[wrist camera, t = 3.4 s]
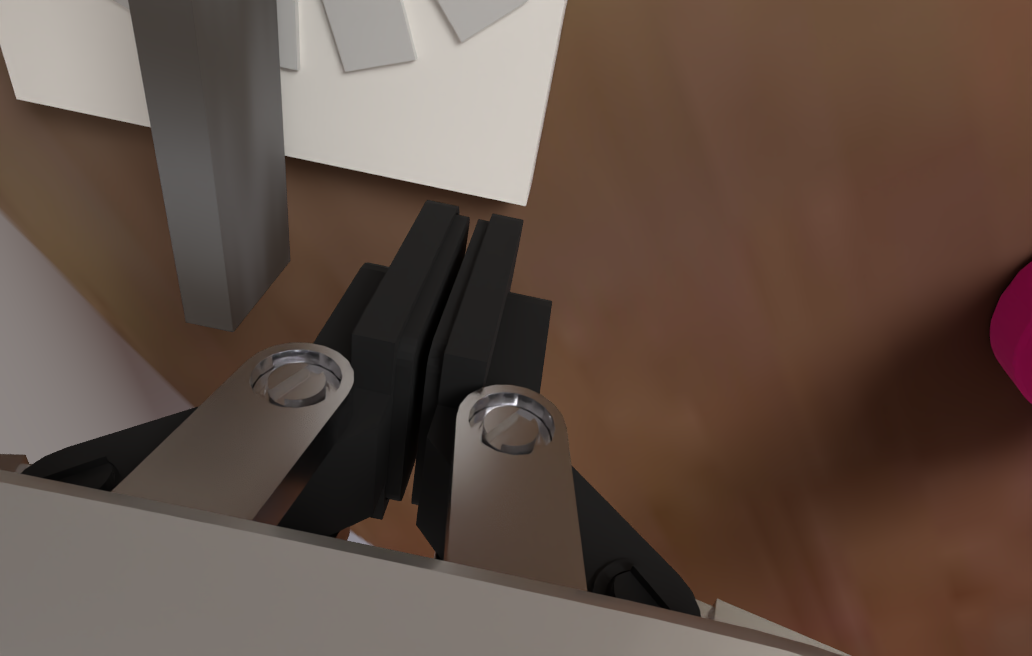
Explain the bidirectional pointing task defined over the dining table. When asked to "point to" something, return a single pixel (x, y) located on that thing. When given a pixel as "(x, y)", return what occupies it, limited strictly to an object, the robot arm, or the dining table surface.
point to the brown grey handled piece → (217, 147)
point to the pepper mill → (1015, 331)
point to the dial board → (339, 81)
